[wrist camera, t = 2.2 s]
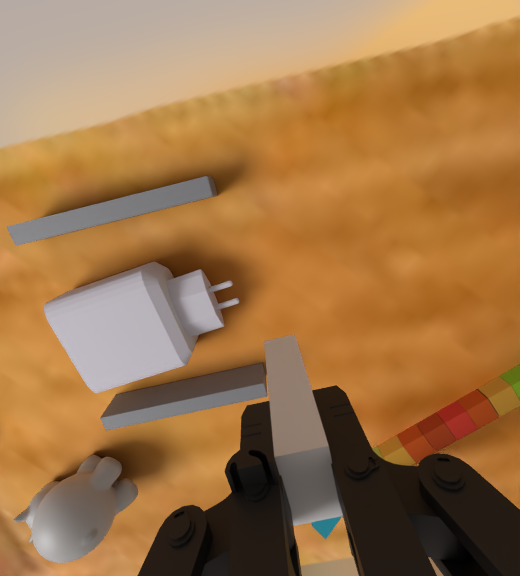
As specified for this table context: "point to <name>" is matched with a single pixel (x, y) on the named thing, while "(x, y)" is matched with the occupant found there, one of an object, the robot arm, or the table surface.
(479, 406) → the chart
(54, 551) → the chubby cartoon animal
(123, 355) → the charger
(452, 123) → the table surface
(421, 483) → the robot arm
